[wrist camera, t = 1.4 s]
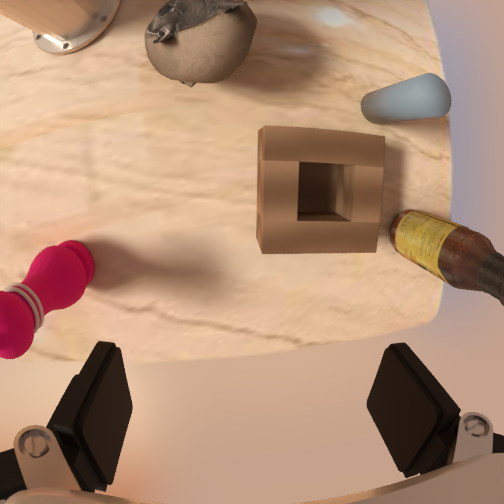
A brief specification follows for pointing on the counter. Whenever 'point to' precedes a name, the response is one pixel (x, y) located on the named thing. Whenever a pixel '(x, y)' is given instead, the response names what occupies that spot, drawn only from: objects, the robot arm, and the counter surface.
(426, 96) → the peg
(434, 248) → the sauce bottle
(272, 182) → the socket block
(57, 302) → the pepper mill
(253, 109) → the counter surface
